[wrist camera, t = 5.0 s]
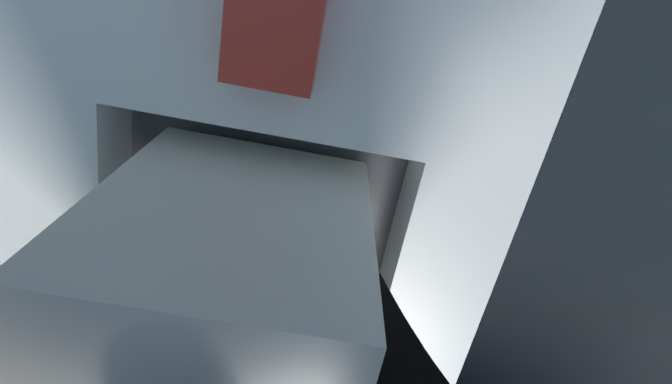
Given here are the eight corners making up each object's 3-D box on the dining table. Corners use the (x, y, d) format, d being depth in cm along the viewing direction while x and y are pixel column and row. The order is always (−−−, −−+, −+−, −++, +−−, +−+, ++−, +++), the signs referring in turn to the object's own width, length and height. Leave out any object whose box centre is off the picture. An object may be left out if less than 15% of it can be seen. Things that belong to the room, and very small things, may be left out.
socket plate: (572, -46, 10) (652, -52, 7) (399, 449, 16) (409, 539, 13) (20, -161, 9) (-105, -211, 7) (64, 399, 15) (7, 485, 13)
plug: (366, 162, 11) (394, 422, 5) (331, 319, 13) (316, 663, 6) (168, 127, 11) (-100, 348, 4) (161, 291, 12) (-35, 621, 6)
